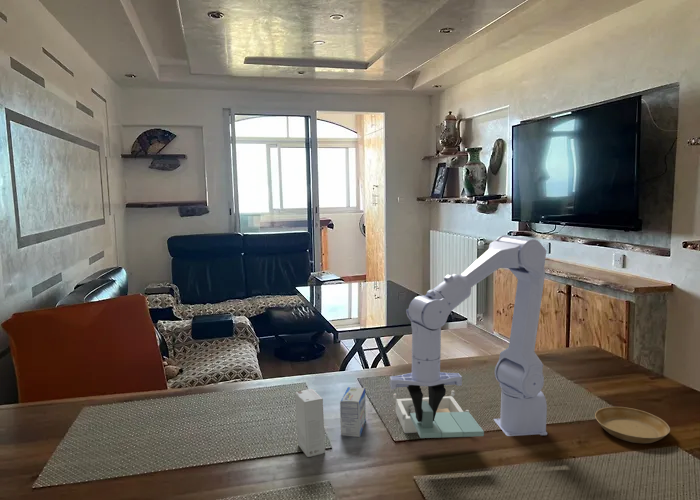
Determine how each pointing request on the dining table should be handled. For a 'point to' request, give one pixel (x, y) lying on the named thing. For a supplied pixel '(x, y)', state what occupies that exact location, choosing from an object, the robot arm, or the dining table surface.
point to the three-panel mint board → (445, 424)
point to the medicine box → (353, 411)
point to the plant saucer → (632, 424)
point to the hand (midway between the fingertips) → (425, 419)
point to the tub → (404, 404)
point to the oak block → (442, 410)
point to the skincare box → (310, 422)
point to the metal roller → (411, 409)
